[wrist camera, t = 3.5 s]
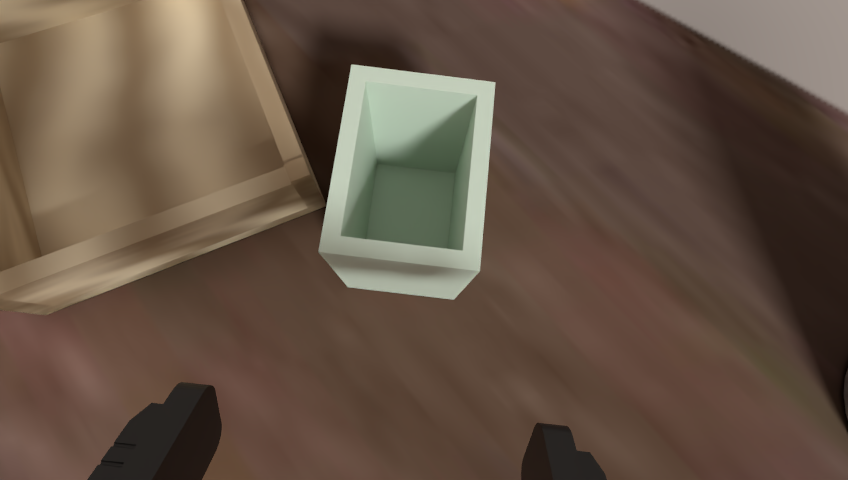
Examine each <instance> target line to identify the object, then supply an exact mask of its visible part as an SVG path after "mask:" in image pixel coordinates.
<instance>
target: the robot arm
mask: <svg viewBox="0 0 848 480" xmlns="http://www.w3.org/2000/svg"><path fill="white" fill-rule="evenodd" d="M844 402H845V411H846V415H847V419H848V369H847V372H846V376H845V384H844ZM221 429H222V425H221V419H220V413H219V408H218V403H217V397H216V392H215V388H214V387H213V386H211V385H202V384H193V383H184V382H181V383H179V384H178V385H176V387H175V388H174V389H173V390H172V392H171V393H170V395H169V396H168V398H167V399H166V401H165V402H164V404H157V403H151V404H150V405H149V406H147V407H146V408H145V409H144V410H142V411H141V412H140V413H139V414H137V415H136V416H135V417H134V418H132V419H131V420H130V421H129V422H128V424H127V425H126V426H125V428H124V429H123V431H122V432H121V433H120V435H119V436H118V438H117V439H116V440H115V442H114V446H113V447H110V449H109V450H108V452H107V453H106V454H105V456H104V457H103V459H102V460H101V464H100V465H98V466H97V467H96V468H95V470H94V471H93V473H92V474H91V475H90V477H89V478H88V480H202V478H203V476H204V474H205V472H206V470H207V468H208V466H209V464H210V462H211V460H212V458H213V456H214V454H215V452H216V449H217V447H218V444H219V440H220V436H221ZM521 480H607V479H606V476H605V473H604V472H603V471H602V469H601V468H600V466H599V465H598V463H597V462H596V460H595V459H594V458H593V456H592V455H591V453H590V452H582V451H577V450H576V447H575V443H574V439H573V436H572V433H571V430H570V429H569V427H567V426H561V425H552V424H543V423H537V424H536V425H535V427H534V430H533V433H532V436H531V438H530V441H529V444H528V446H527V449H526V452H525V455H524V458H523V461H522V470H521Z"/></svg>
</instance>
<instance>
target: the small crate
mask: <svg viewBox="0 0 848 480" xmlns="http://www.w3.org/2000/svg"><path fill="white" fill-rule="evenodd" d="M494 93H495V82H488V81H480V80H472V79H464V78H456V77H448V76H440V75H432V74H424V73H416V72H408V71H401V70H393V69H385V68H377V67H369V66H361V65H353V64H351V70H350V76H349V81H348V87H347V93H346V98H345V104H344V110H343V115H342V121H341V127H340V132H339V138H338V144H337V149H336V155H335V161H334V166H333V172H332V178H331V183H330V189H329V195H328V200H327V206H326V212H325V217H324V223H323V229H322V234H321V240H320V246H319V251H318V252H319V253H320V254H321V256H322V257H323V258H324V259H325V260H326V262H327V263H328V264H329V265H330V266H331V268H332V269H333V270H334V271H335V272H336V274H337V275H338V276H339V277H340V278H341V279H342V281H343V282H344V283H345V284H346V285H347V287H351V288H359V289H368V290H376V291H385V292H393V293H402V294H410V295H419V296H427V297H435V298H444V299H452V300H454V299H455V298H456V297H457V295H458V294H459V293H460V292H461V291H462V290H463V289H464V288H465V287H466V286H467V285H468V284H469V282H470V281H471V280H472V279H473V278H474V277H475V276H476V275H477V274H478V273H479V272H480V263H481V251H482V239H483V227H484V215H485V202H486V190H487V178H488V166H489V154H490V142H491V130H492V117H493V105H494Z"/></svg>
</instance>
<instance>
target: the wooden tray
mask: <svg viewBox="0 0 848 480" xmlns="http://www.w3.org/2000/svg"><path fill="white" fill-rule="evenodd" d="M325 206H327V205H326V203H325V200H324V198H323V195H322V193H321V190H320V188H319V185H318V183H317V181H316V178H315V176H314V173H313V171H312V168H311V166H310V163H309V161H308V158H307V156H306V153H305V151H304V148H303V146H302V143H301V141H300V138H299V136H298V133H297V131H296V129H295V126H294V124H293V121H292V119H291V116H290V114H289V111H288V109H287V106H286V104H285V101H284V99H283V96H282V94H281V91H280V89H279V86H278V84H277V82H276V79H275V77H274V74H273V72H272V69H271V67H270V64H269V62H268V59H267V57H266V54H265V52H264V49H263V47H262V44H261V42H260V39H259V37H258V34H257V32H256V30H255V27H254V25H253V22H252V20H251V17H250V15H249V12H248V10H247V7H246V5H245V2H244V0H0V310H4V311H14V312H23V313H32V314H41V315H47V314H50V313H53V312H55V311H58V310H60V309H63V308H65V307H68V306H71V305H73V304H76V303H78V302H81V301H83V300H86V299H89V298H91V297H94V296H96V295H99V294H101V293H104V292H107V291H109V290H112V289H114V288H117V287H120V286H122V285H125V284H127V283H130V282H132V281H135V280H138V279H140V278H143V277H145V276H148V275H150V274H153V273H156V272H158V271H161V270H163V269H166V268H168V267H171V266H174V265H176V264H179V263H181V262H184V261H186V260H189V259H192V258H194V257H197V256H199V255H202V254H204V253H207V252H210V251H212V250H215V249H217V248H220V247H222V246H225V245H228V244H230V243H233V242H235V241H238V240H240V239H243V238H246V237H248V236H251V235H253V234H256V233H259V232H261V231H264V230H266V229H269V228H271V227H274V226H277V225H279V224H282V223H284V222H287V221H289V220H292V219H295V218H297V217H300V216H302V215H305V214H307V213H310V212H313V211H315V210H318V209H320V208H323V207H325Z"/></svg>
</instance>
